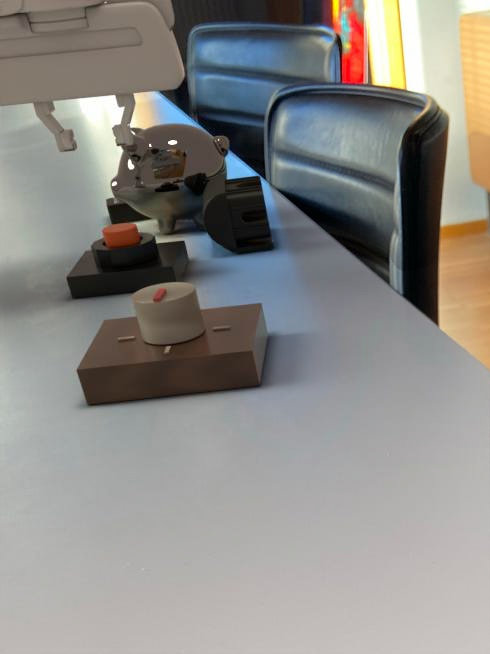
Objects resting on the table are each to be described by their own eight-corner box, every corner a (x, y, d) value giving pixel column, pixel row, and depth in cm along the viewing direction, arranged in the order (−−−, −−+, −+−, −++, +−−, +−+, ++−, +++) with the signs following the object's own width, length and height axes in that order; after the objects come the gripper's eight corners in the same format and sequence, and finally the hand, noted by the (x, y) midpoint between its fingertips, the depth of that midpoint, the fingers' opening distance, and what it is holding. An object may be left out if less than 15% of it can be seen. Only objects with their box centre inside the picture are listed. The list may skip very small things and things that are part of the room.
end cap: (210, 236, 122) (197, 175, 118) (269, 228, 123) (258, 168, 119) (211, 258, 115) (196, 195, 111) (274, 250, 115) (262, 186, 111)
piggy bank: (126, 223, 131) (100, 124, 124) (243, 207, 133) (223, 110, 126) (120, 245, 122) (91, 141, 115) (245, 229, 124) (224, 125, 117)
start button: (103, 251, 107) (98, 233, 106) (109, 241, 110) (105, 224, 109) (138, 247, 107) (133, 230, 106) (143, 238, 110) (138, 221, 109)
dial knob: (150, 325, 88) (138, 281, 86) (209, 320, 88) (199, 276, 86) (136, 347, 84) (123, 301, 81) (199, 341, 84) (188, 295, 81)
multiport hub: (197, 211, 133) (193, 193, 132) (111, 224, 131) (106, 205, 129) (194, 204, 136) (190, 186, 135) (110, 216, 134) (105, 198, 133)
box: (72, 298, 106) (60, 259, 104) (91, 270, 114) (80, 233, 112) (178, 287, 107) (168, 248, 104) (189, 260, 115) (180, 223, 112)
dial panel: (87, 405, 82) (75, 367, 81) (113, 352, 92) (103, 317, 90) (259, 385, 83) (251, 348, 81) (268, 335, 93) (261, 300, 91)
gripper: (170, -27, 97) (203, 131, 106) (-47, -7, 96) (4, 151, 105) (160, -23, 92) (196, 143, 101) (-68, -2, 91) (-13, 164, 100)
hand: (97, 147), depth 103 cm, fingers open, 4 cm apart
